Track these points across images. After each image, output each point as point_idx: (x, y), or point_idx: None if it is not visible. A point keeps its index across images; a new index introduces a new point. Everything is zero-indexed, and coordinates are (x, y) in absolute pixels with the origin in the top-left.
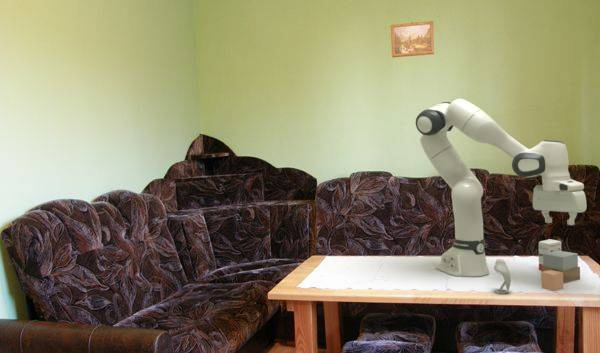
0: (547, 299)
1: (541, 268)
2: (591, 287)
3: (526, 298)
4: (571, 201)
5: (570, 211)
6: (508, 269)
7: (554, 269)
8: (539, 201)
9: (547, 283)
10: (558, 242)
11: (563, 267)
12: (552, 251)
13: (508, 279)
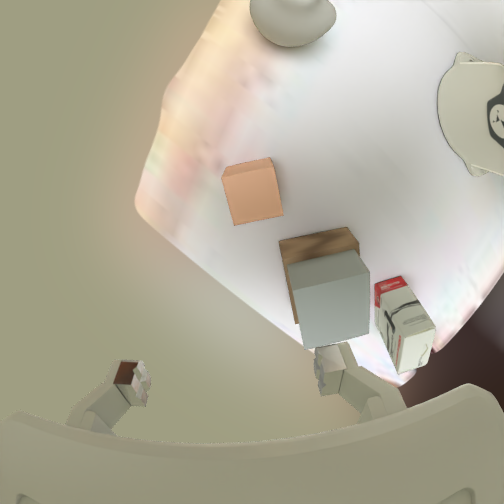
0: (170, 100)
1: (355, 240)
2: (220, 275)
3: (200, 54)
4: (15, 486)
5: (51, 424)
6: (267, 14)
7: (311, 253)
8: (446, 479)
9: (247, 164)
10: (398, 365)
11: (288, 271)
12: (393, 330)
13: (251, 16)
